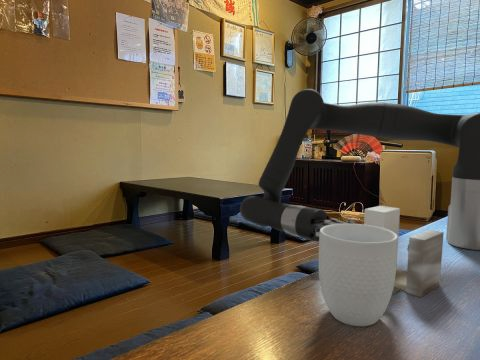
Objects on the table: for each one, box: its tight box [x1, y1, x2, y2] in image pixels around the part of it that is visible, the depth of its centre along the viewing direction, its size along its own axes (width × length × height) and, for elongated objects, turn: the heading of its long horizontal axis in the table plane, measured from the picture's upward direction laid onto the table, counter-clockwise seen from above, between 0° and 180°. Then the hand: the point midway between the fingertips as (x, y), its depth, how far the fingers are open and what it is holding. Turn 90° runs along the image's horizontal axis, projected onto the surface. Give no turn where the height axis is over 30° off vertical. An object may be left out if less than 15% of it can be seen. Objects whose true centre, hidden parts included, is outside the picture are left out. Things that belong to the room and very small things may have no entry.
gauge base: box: [392, 229, 444, 298], centre depth 65 cm, size 14×10×10 cm
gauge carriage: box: [363, 205, 401, 268], centre depth 66 cm, size 4×10×12 cm, turn 129°
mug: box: [317, 223, 399, 327], centre depth 52 cm, size 15×11×13 cm
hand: (371, 238), depth 69 cm, fingers closed
